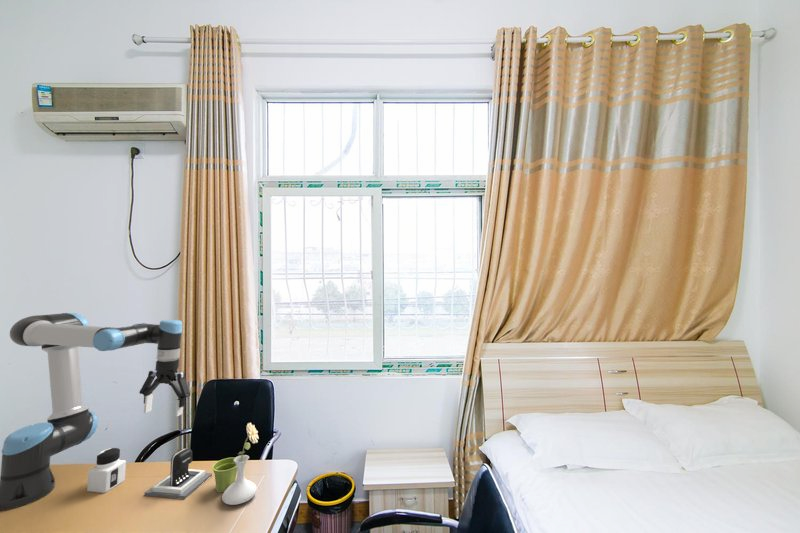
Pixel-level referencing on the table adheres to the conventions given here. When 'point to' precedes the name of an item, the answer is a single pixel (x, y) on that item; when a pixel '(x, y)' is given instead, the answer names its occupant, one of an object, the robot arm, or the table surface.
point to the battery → (180, 467)
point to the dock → (183, 489)
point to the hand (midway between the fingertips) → (163, 413)
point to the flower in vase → (242, 475)
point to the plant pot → (224, 473)
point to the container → (106, 471)
